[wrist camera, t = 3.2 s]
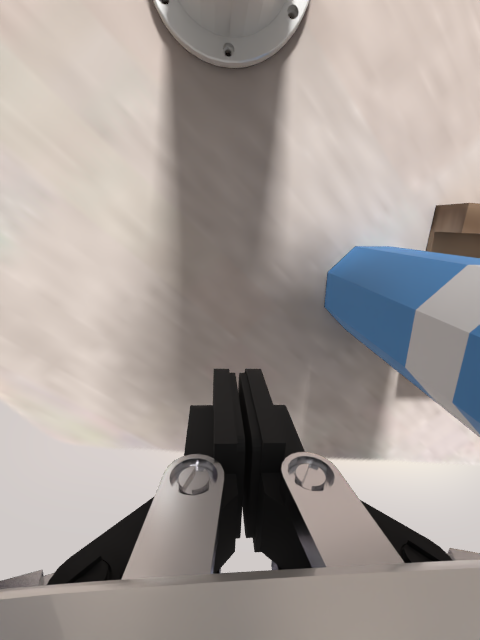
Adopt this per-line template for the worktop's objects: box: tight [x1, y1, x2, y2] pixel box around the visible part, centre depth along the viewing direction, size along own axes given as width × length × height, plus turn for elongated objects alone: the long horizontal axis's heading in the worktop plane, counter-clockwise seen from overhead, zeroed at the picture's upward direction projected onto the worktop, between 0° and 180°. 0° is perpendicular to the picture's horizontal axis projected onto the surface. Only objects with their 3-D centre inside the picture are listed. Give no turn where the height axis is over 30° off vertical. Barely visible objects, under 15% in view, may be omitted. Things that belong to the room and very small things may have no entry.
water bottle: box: [324, 246, 480, 437], centre depth 20 cm, size 9×9×25 cm
